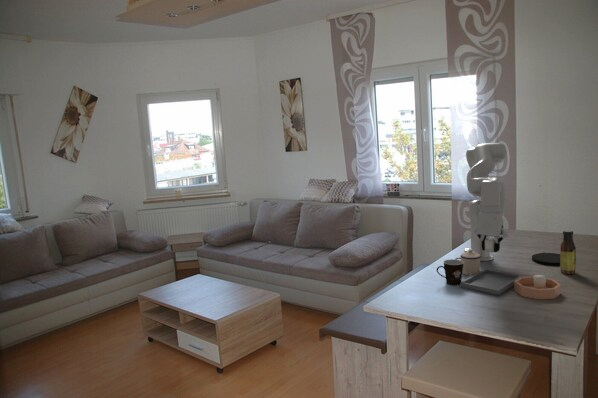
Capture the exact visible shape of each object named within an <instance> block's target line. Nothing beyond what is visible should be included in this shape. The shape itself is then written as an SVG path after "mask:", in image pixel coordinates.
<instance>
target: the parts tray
mask: <svg viewBox="0 0 598 398" xmlns="http://www.w3.org/2000/svg"><path fill="white" fill-rule="evenodd" d="M520 277H523V275H522V274H516V273H509V272H504V271H499V270H495V269H494V270H493V269H488V268H484V269H483V270H480V272H479V273H477V274H475V275H473V276H469V277H467V278H466V279H464V280H463V281H461V282H460V285H459V288H460V289H464V290H468V291H469V290H470V291H473V292H476V293H477V292H478V293H483V294H487V295H490V296H491V295H492V296H495V297H500V296H502V295H503V294H504V293H506V292H507V291H509V290H511V289H513V288H514V281H515V280H517V279H519V278H520Z"/></svg>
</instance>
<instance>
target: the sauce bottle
mask: <svg viewBox="0 0 598 398" xmlns="http://www.w3.org/2000/svg"><path fill="white" fill-rule="evenodd" d="M562 235H563V239H562V242H561V244H560V252H559V254H560V266H559V267H560V268H559V269H560V272H561V274H564V275H575V273H576V270H577V247H576V244H575V242H574V238H573V237H574V236H573V235H574V231H573V230H570V229H566V230H565V229H564V230H563V231H562Z"/></svg>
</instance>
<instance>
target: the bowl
mask: <svg viewBox="0 0 598 398" xmlns="http://www.w3.org/2000/svg"><path fill="white" fill-rule="evenodd" d="M513 288H514V289H513V290H514V291H515V293H517V294H519V295H520V296H521V297H525V298H531V299H535V300H550V299H551V300H552V299H557V297H559V296H560V295H561V294H562V284H561V283H560V282H558V281H556V280H554V279H552V278H548V277H546V289H536V288H534V275H532V276H522V277H520V278H519V279H517V280H515V281H514V287H513Z"/></svg>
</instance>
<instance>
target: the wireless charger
mask: <svg viewBox="0 0 598 398" xmlns="http://www.w3.org/2000/svg"><path fill="white" fill-rule="evenodd" d="M531 261H532V262H533V263H536V264H539V265H542V266H547V267H548V266H549V267H560V253H556V252H537V253H534V254H532V255H531Z"/></svg>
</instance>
